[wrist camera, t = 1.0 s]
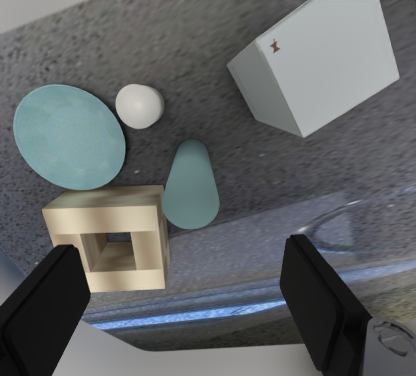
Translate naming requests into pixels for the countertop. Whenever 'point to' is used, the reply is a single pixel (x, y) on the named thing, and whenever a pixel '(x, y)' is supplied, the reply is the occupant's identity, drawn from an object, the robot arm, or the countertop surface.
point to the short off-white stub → (139, 105)
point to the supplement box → (316, 64)
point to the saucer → (69, 137)
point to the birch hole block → (114, 222)
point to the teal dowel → (191, 188)
